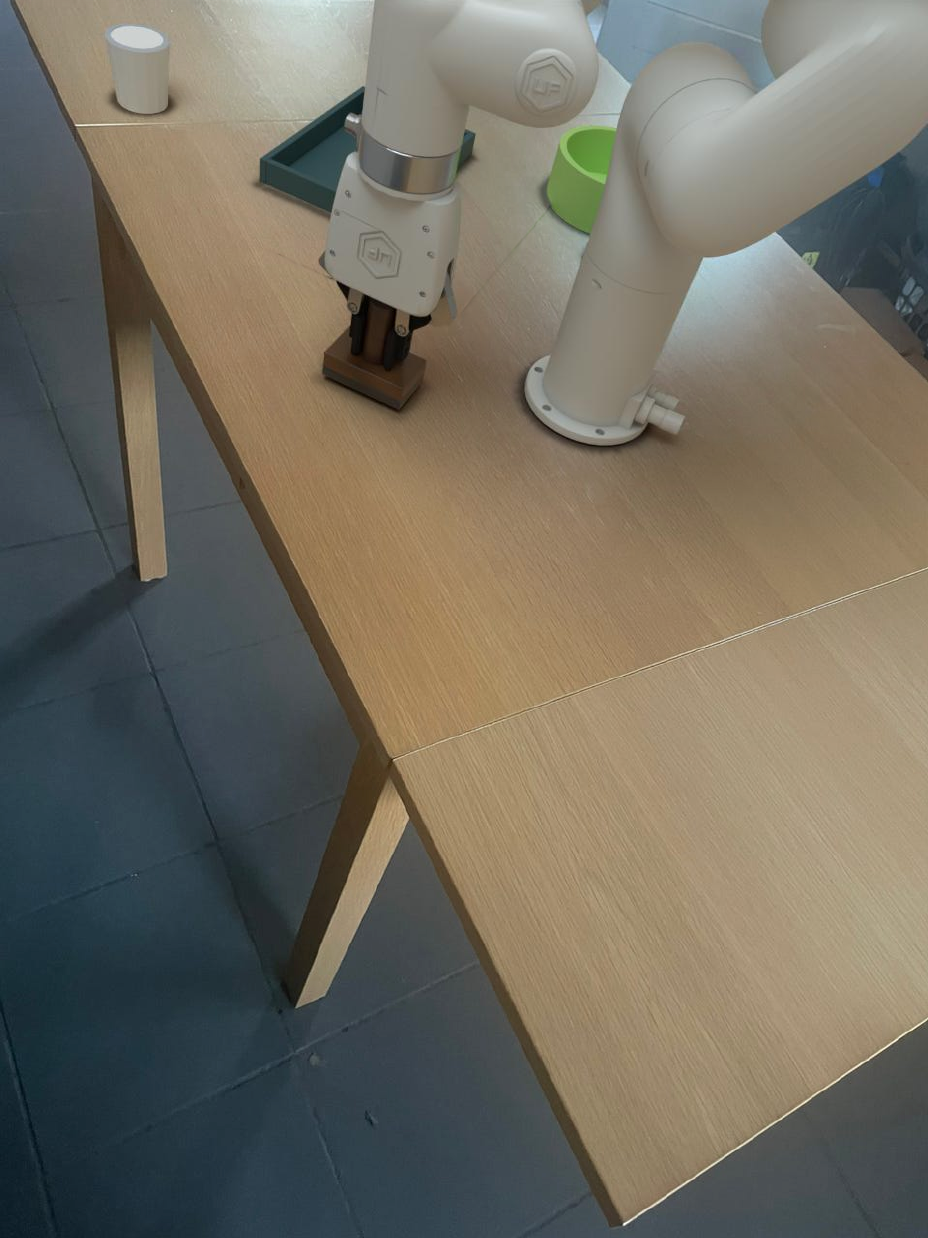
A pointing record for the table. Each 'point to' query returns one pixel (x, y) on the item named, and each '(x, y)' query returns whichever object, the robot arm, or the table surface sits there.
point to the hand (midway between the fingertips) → (377, 352)
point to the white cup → (139, 66)
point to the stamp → (374, 361)
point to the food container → (580, 174)
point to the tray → (322, 155)
